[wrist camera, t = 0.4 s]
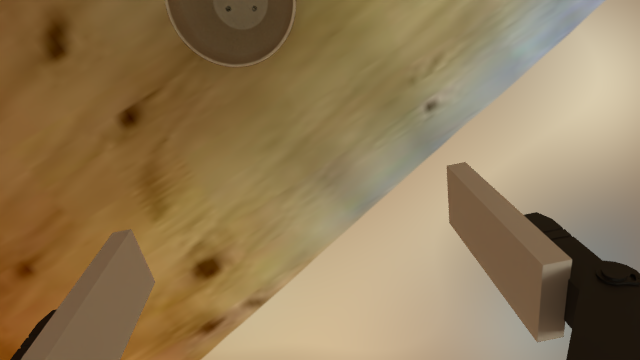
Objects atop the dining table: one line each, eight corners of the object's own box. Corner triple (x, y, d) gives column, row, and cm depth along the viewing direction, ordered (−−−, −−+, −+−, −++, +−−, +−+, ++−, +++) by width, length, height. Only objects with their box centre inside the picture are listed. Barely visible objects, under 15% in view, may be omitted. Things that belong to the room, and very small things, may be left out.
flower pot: (279, -75, 35) (278, -92, 28) (304, 43, 39) (308, 52, 32) (168, -49, 35) (141, -59, 28) (205, 66, 39) (190, 79, 33)
